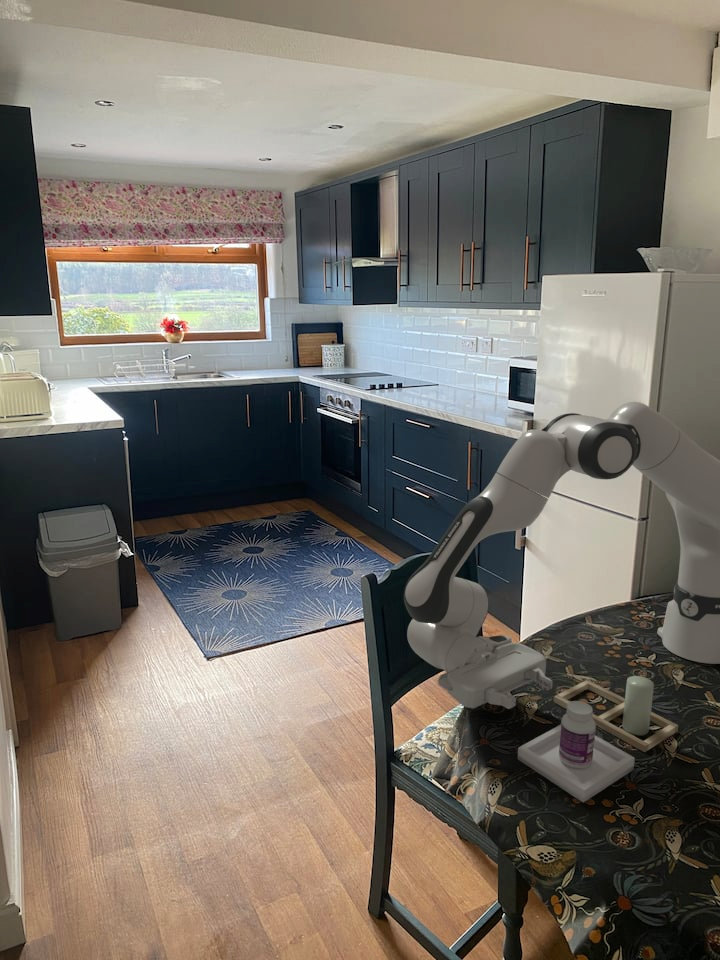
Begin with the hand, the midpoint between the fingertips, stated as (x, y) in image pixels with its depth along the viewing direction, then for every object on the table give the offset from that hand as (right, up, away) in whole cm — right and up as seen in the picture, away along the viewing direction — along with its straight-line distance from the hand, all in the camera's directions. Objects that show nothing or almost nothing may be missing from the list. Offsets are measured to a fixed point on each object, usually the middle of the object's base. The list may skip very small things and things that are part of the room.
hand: (531, 694), depth 122 cm
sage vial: (+19, -7, +4) cm, 21 cm away
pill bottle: (+6, -9, -5) cm, 12 cm away
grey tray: (+6, -10, -5) cm, 12 cm away
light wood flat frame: (+17, -6, +8) cm, 20 cm away
